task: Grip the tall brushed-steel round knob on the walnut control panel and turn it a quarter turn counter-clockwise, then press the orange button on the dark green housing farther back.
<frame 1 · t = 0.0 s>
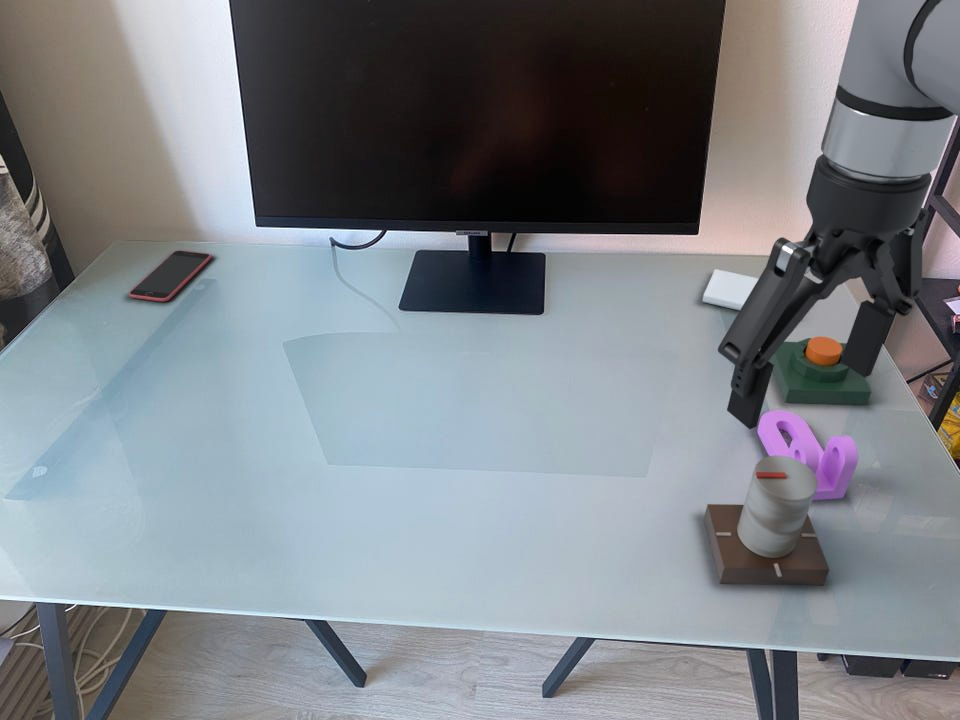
hand: (800, 392, 66), 20 cm above the table, tool pointing down, fingers open, 13 cm apart
switchbox: (814, 378, 98), on the table
smartphone: (172, 277, 121), on the table
hard drive: (749, 300, 113), on the table
bracket: (793, 458, 87), on the table
dial: (775, 505, 73), point 7 cm above the table, hinge at 0.0°
button: (823, 351, 95), point 4 cm above the table, slide at 0.1 cm
panel: (760, 551, 77), on the table
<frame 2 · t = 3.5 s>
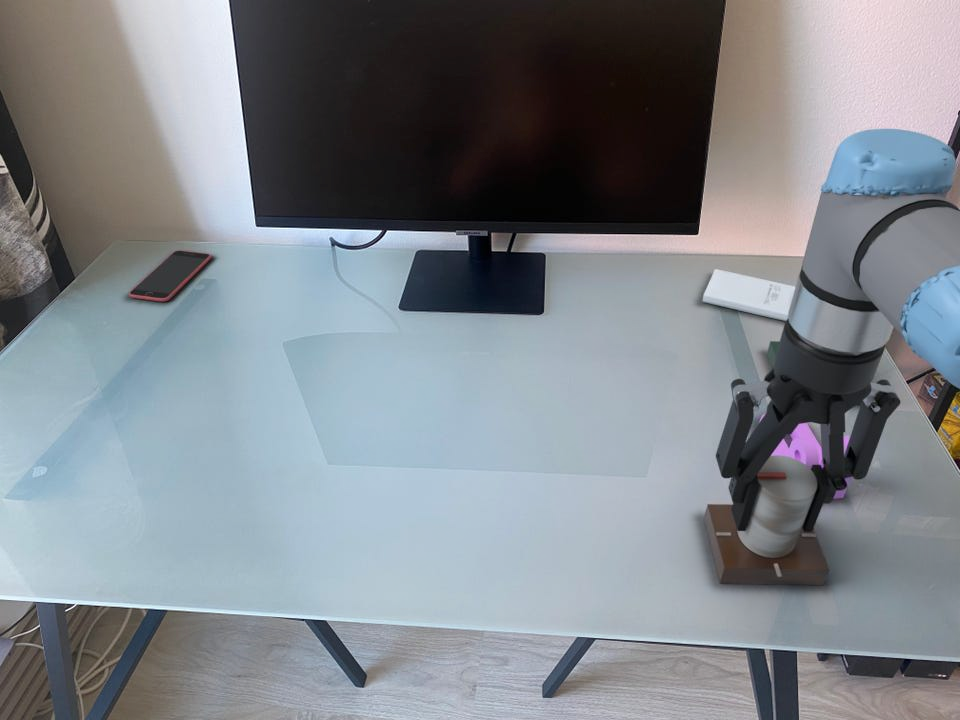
hand: (771, 520, 74), 5 cm above the table, tool pointing down, fingers closed on dial, 6 cm apart
dial: (775, 505, 73), point 7 cm above the table, hinge at -0.1°, touching gripper
everything else where it was.
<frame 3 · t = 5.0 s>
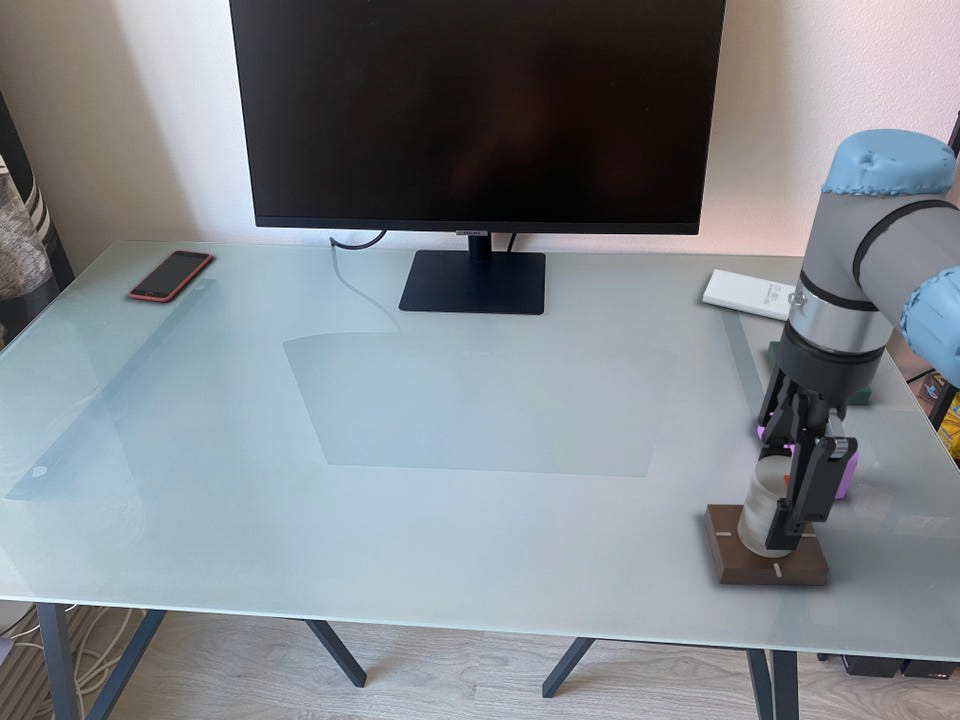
hand: (771, 520, 74), 5 cm above the table, tool pointing down, fingers closed on dial, 6 cm apart
dial: (775, 505, 73), point 7 cm above the table, hinge at 90.3°, touching gripper
everything else where it was.
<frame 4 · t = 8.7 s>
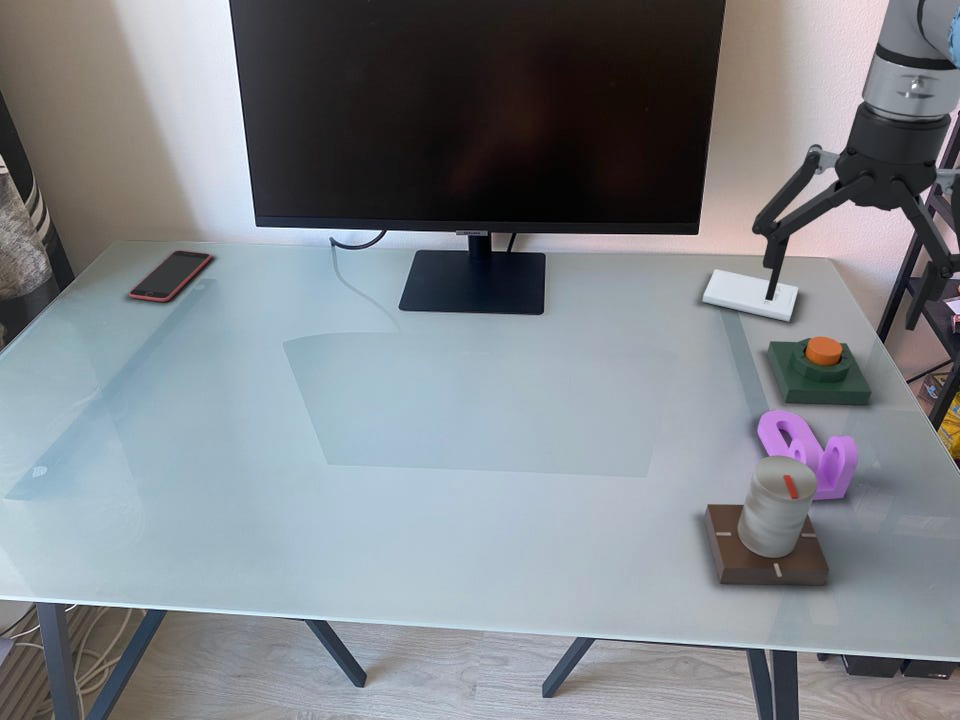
hand: (837, 308, 79), 18 cm above the table, tool pointing down, fingers open, 13 cm apart
dial: (775, 505, 73), point 7 cm above the table, hinge at 90.0°
everything else where it was.
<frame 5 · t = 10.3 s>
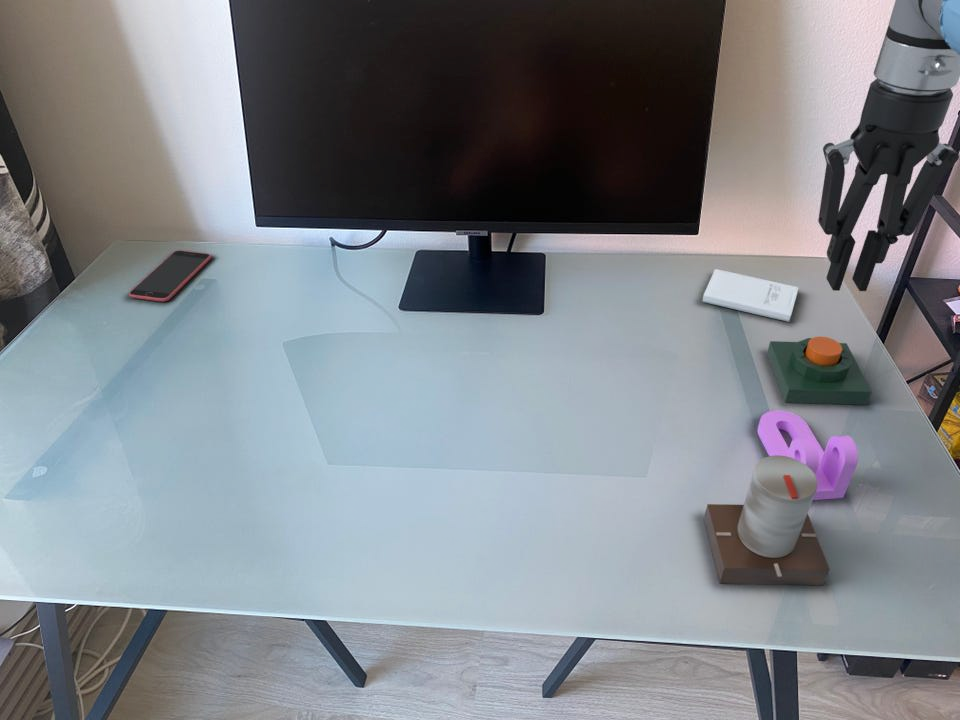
hand: (845, 284, 89), 14 cm above the table, tool pointing down, fingers open, 2 cm apart
nothing on the table moved.
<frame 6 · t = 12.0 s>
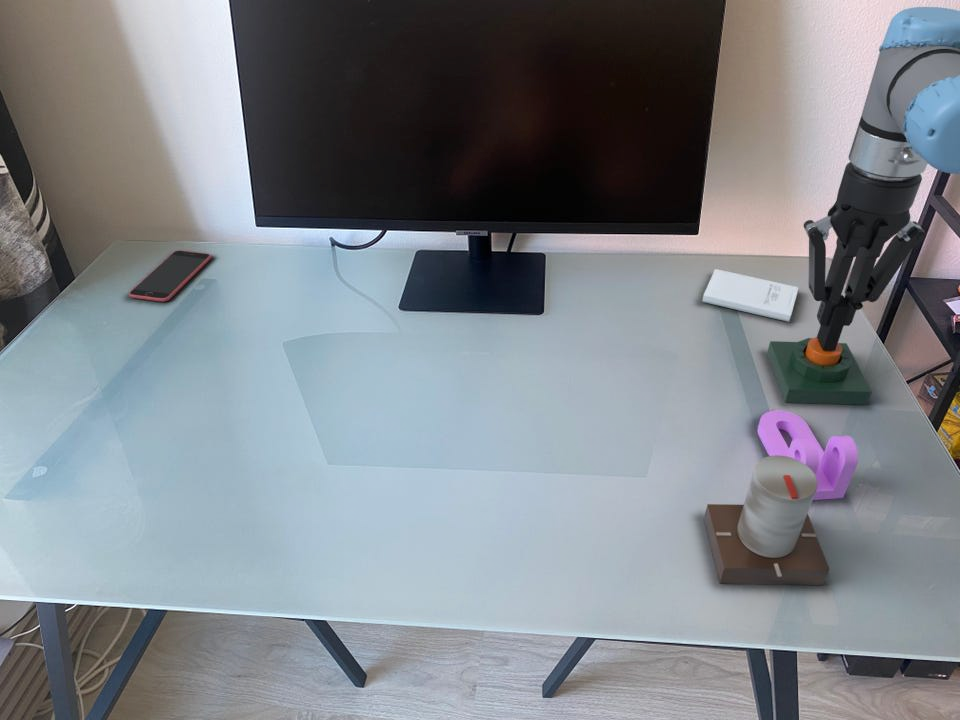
hand: (825, 343, 95), 6 cm above the table, tool pointing down, fingers closed
button: (823, 351, 95), point 4 cm above the table, slide at 0.1 cm, touching gripper
everything else where it was.
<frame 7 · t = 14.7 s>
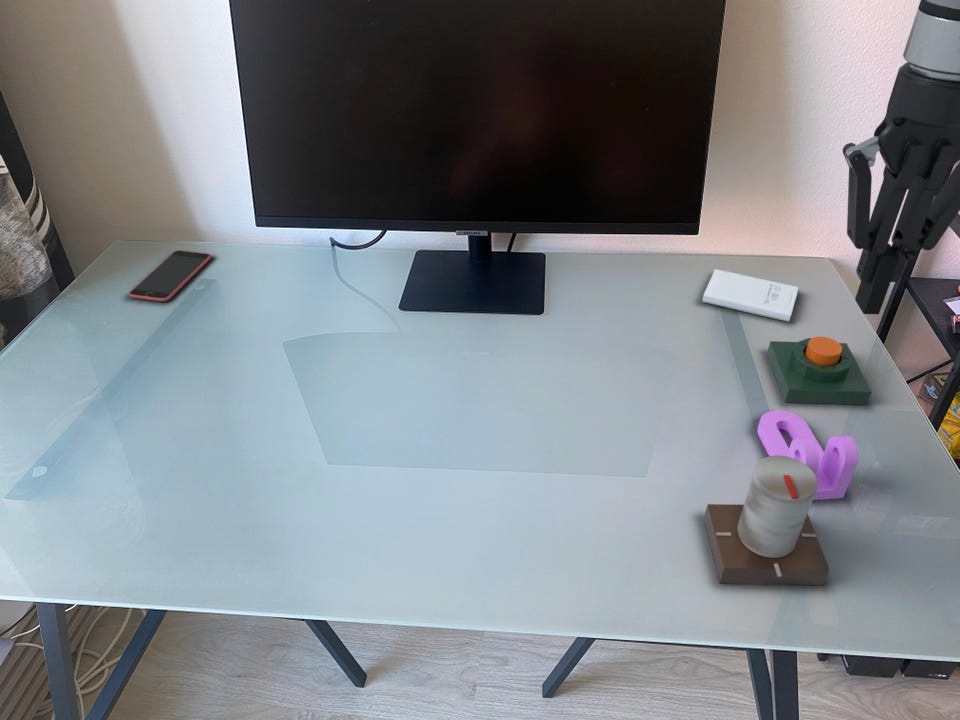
hand: (866, 306, 77), 20 cm above the table, tool pointing down, fingers closed
button: (823, 351, 95), point 4 cm above the table, slide at 0.1 cm
everything else where it was.
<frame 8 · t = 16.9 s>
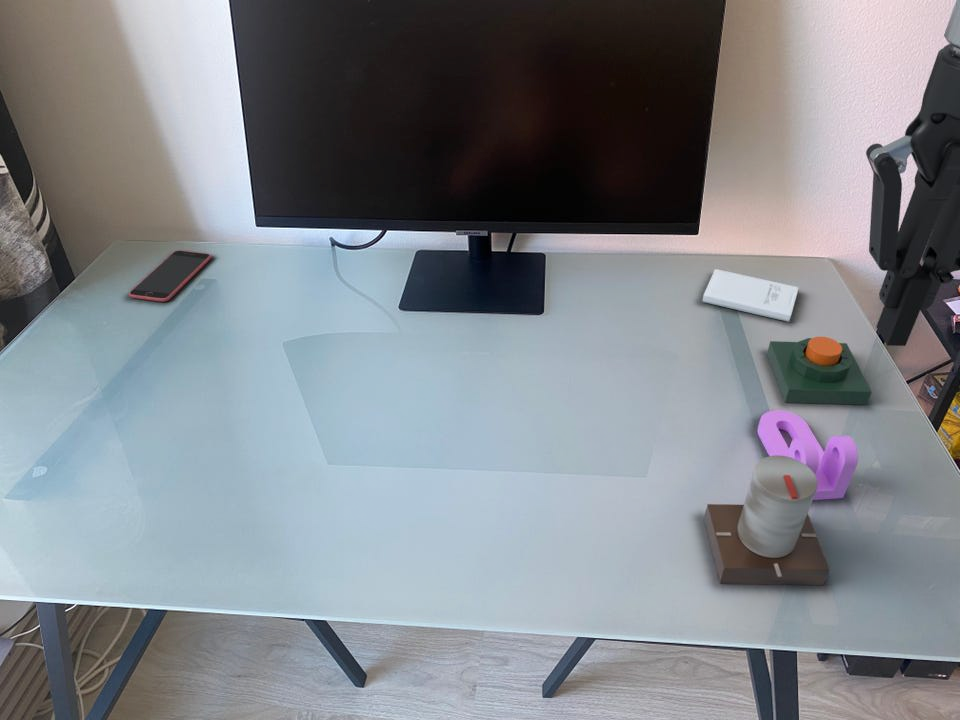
hand: (890, 335, 65), 24 cm above the table, tool pointing down, fingers closed
nothing on the table moved.
at the end: dial at +90° (first picture: +0°); button pushed in 1.0 cm at the most during the clip, back to where it started at the end; button slide at 0.1 cm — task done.
